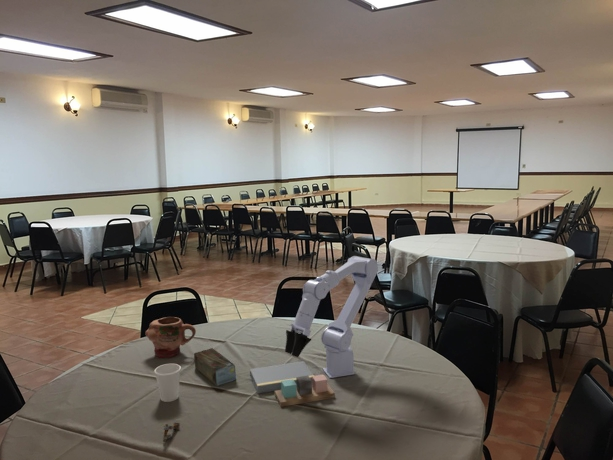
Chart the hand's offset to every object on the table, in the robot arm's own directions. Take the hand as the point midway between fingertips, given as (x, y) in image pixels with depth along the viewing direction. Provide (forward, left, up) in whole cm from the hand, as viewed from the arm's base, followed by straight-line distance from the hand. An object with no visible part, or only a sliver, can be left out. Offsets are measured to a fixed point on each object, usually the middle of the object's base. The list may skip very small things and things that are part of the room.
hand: (291, 354), depth 160 cm
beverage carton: (+23, -24, -14) cm, 36 cm away
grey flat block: (+1, -10, -13) cm, 17 cm away
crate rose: (-8, +4, -12) cm, 15 cm away
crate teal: (+2, +3, -12) cm, 12 cm away
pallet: (-3, +4, -14) cm, 15 cm away
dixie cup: (+39, -10, -14) cm, 43 cm away
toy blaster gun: (+39, +12, -14) cm, 43 cm away
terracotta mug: (+37, -49, -14) cm, 62 cm away
